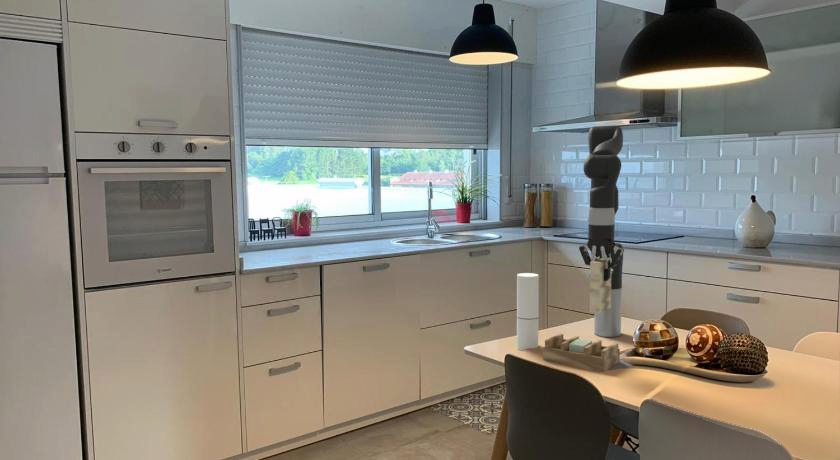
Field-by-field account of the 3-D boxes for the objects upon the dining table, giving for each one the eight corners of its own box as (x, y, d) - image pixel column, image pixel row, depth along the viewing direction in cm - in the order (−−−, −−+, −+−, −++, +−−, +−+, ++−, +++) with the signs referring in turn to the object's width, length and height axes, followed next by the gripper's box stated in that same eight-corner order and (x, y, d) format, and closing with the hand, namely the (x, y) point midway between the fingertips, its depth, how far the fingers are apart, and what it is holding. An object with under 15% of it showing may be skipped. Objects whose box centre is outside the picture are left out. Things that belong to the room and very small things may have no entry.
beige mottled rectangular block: (601, 306, 201) (602, 258, 199) (610, 307, 199) (611, 259, 197) (589, 312, 194) (590, 262, 192) (598, 313, 192) (599, 262, 190)
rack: (561, 353, 213) (562, 332, 212) (619, 364, 200) (619, 342, 200) (543, 363, 203) (543, 341, 202) (602, 375, 191) (602, 351, 190)
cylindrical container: (537, 345, 222) (537, 273, 220) (539, 351, 215) (539, 276, 213) (516, 345, 223) (516, 273, 220) (517, 351, 216) (517, 276, 213)
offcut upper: (577, 347, 205) (577, 338, 205) (591, 349, 203) (592, 340, 202) (569, 352, 200) (569, 344, 199) (583, 355, 197) (583, 346, 197)
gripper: (629, 222, 192) (628, 280, 194) (584, 220, 201) (584, 276, 203) (619, 225, 186) (618, 284, 188) (574, 222, 195) (573, 279, 197)
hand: (600, 279), depth 195 cm, fingers closed on beige mottled rectangular block, 2 cm apart
